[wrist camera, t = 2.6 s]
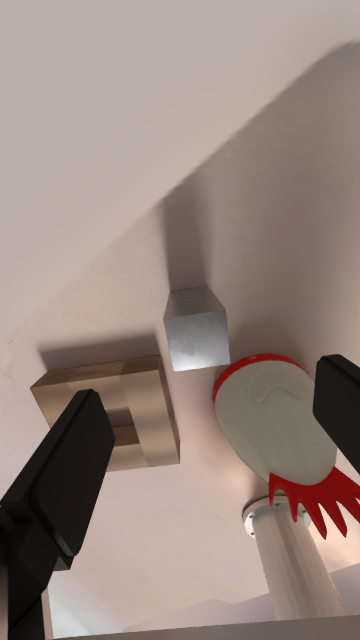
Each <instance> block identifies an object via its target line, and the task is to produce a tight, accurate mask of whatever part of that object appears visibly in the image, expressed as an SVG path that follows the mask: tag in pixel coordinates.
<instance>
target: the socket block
mask: <svg viewBox="0 0 360 640" xmlns="http://www.w3.org/2000/svg"><path fill="white" fill-rule="evenodd" d="M85 389H93V390H94V391H95V392H98V393H99V396H100V398H101V401H102V403H103V406H104V409H105V410H108V409H116V408H123V407H129V409H130V412H131V415H132V419H133V422H134V424H131V425H124V426H116V427H112V430H113V432H114V435H115V445H114V448H113V451H112V454H111V457H110V460H109V464H108V467H107V470H106V472H111V471H120V470H129V469H138V468H147V467H156V466H164V465H173V464H180V439H179V435H178V430H177V426H176V421H175V417H174V412H173V408H172V403H171V399H170V394H169V390H168V385H167V381H166V376H165V372H164V367H163V363H162V358H161V355H158V356H151V357H144V358H137V359H130V360H123V361H116V362H109V363H102V364H95V365H89V366H82V367H75V368H68V369H61V370H54V371H48V372H47V373H46V374H44V375H43V376H42V377H41V378H40V379H39V380H38V381H37V382H36V383H35V384H33V385H32V386H31V387H30V390H31V392H32V394H33V396H34V398H35V400H36V402H37V403H38V405H39V407H40V409H41V411H42V413H43V415H44V417H45V419H46V421H47V423H48V425H49V427H50V429H51V428H52V426H53V425H54V424H55V422H56V421H57V419H58V418H59V416H60V415H61V414H62V412H63V411H64V409H65V408H66V406H67V405H68V404H69V402H70V401H71V399H72V398H73V396H74V395H75V394H76V392H77V391H79V390H85Z"/></svg>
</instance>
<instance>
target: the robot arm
mask: <svg viewBox="0 0 360 640" xmlns="http://www.w3.org/2000/svg"><path fill="white" fill-rule="evenodd" d="M312 411H313V415H314V417H315V419H316V420H317V422H318V423H319V424H320V425H321V427H322V428H323V429H324V431H325V432H326V433H327V434H328V436H329V437H330V438H331V439H332V441H333V442H334V443H335V444H336V446H337V447H338V448H339V449H340V451H341V452H342V453H343V455H344V456H345V457H346V458H347V460H348V461H349V462H350V463H351V465H352V466H353V467H354V468H355V470H356V471H357V472H358V473H359V475H360V367H358V366H357V365H355V364H354V363H352V362H351V361H349V360H348V359H346V358H345V357H343V356H342V355H339V354H334V355H327V356H322V357H321V358H320V360H319V361H318V362H317V366H316V377H315V388H314V398H313V409H312ZM114 445H115V435H114V432H113V430H112V427H111V424H110V422H109V419H108V417H107V414H106V411H105V409H104V406H103V403H102V401H101V398H100V396H99V393H98V392H95V391H94V390H93V389H85V390H79V391H77V392H76V394H75V395H74V396H73V398H72V399H71V401H70V402H69V404H68V405H67V406H66V408H65V409H64V411H63V412H62V414H61V415H60V416H59V418H58V419H57V421H56V422H55V424H54V425H53V426H52V428H51V429H50V431H49V432H48V434H47V435H46V436H45V438H44V439H43V441H42V442H41V444H40V445H39V446H38V448H37V449H36V451H35V452H34V454H33V455H32V456H31V458H30V459H29V461H28V462H27V464H26V465H25V466H24V468H23V469H22V471H21V472H20V474H19V475H18V476H17V478H16V479H15V481H14V482H13V484H12V485H11V486H10V488H9V489H8V491H7V492H6V494H5V495H4V496H3V498H2V499H1V501H0V506H1V507H0V640H360V615H351V616H350V615H349V616H348V614H347V612H346V610H345V608H344V605H343V603H342V601H341V599H340V597H339V595H338V592H337V590H336V588H335V586H334V584H333V582H332V579H331V577H330V575H329V573H328V571H327V568H326V566H325V564H324V562H323V560H322V558H321V555H320V553H319V551H318V549H317V547H316V545H315V542H314V540H313V538H312V536H311V534H310V532H309V529H308V527H309V525H310V523H311V518H310V516H309V515H308V513H307V511H306V510H305V508H304V507H303V505H302V504H301V503H299V504H298V513H297V522H296V523H295V522H294V521H293V519H292V515H291V511H290V506H289V501H288V498H287V496H274V499H273V504H272V507H270V503H269V497H266V498H263V499H260V500H258V501H256V502H254V503H253V504H251V505H250V506H249V507H248V508H247V509H246V511H245V512H244V514H243V525H244V528H245V531H246V532H247V533H248V534H249V535H250V536H252V537H253V538H255V539H256V542H257V546H258V550H259V554H260V557H261V561H262V565H263V569H264V573H265V577H266V580H267V584H268V588H269V592H270V596H271V599H272V603H273V607H274V611H275V615H276V619H277V621H269V622H255V623H241V624H228V625H216V626H202V627H189V628H177V629H164V630H152V631H139V632H128V633H115V634H103V635H91V636H78V637H68V638H59V639H54V638H53V630H52V621H51V613H50V604H49V595H48V587H47V586H48V583H49V580H50V578H51V575H52V573H53V571H62V570H70V568H71V565H72V562H73V559H74V556H76V555H77V554H78V553H79V551H80V549H81V547H82V544H83V541H84V538H85V535H86V532H87V529H88V525H89V522H90V519H91V516H92V513H93V510H94V507H95V504H96V501H97V498H98V494H99V491H100V488H101V485H102V482H103V479H104V476H105V473H106V470H107V467H108V464H109V460H110V457H111V454H112V451H113V448H114Z"/></svg>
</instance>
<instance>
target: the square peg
mask: <svg viewBox="0 0 360 640" xmlns="http://www.w3.org/2000/svg"><path fill="white" fill-rule="evenodd" d="M163 320H164V325H165V330H166V335H167V340H168V344H169V349H170V354H171V359H172V364H173V369H174V372H175V371H183V370H190V369H197V368H204V367H211V366H218V365H226V364H230V353H229V341H228V330H227V319H226V309H225V308H224V307H223V305H222V304H221V303H220V302H219V300H218V299H217V298H216V296H215V295H214V294H213V292H212V291H211V290H210V289H209V287H208V286H203V287H196V288H190V289H184V290H178V291H172V292H170V294H169V298H168V302H167V306H166V310H165V314H164V318H163Z"/></svg>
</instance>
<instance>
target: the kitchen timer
mask: <svg viewBox="0 0 360 640" xmlns="http://www.w3.org/2000/svg"><path fill="white" fill-rule="evenodd" d="M314 388H315V383H314V382H313V381H312V379H311V378H310V377H309V376H308V374H307V373H306V372H305V371H304V370H303V369H302V368H301V367H300V366H299V365H298V364H297V363H295V362H293V361H292V360H290V359H288V358H287V357H283V356H279V355H275V354H258V355H254V356H251V357H247V358H244V359H242V360H240V361H238V362H236V363H234V364H233V365H231V366H230V367H229V368H228V369H227V370H226V371H225V372H224V373H223V374H221V376H220V378H219V379H218V381H217V383H216V384H215V387H214V392H213V396H212V397H213V405H214V410H215V415H216V418H217V421H218V423H219V425H220V427H221V429H222V431H223V432H224V434H225V436H226V438H227V439H228V441H229V443H230V444H231V446H232V447H233V449H234V451H235V452H236V454H237V455H238V456H239V457H240V459H241V460H242V461H243V462H244V463H245V464H246V465H247V466H248V467H249V468H250V469H251V470H253V471H254V472H255V473H256V474H257V475H258V476H260V477H261V478H262V479H263V480H265V481H266V482H268V483H269V503H270V507H272V504H273V499H274V494H275V491H276V490H278V489H282V490H283V491H284V492H285V493H286V495H287V498H288V501H289V506H290V511H291V515H292V519H293V521H294V522H295V523H296V522H297V513H298V504H299V503H301V504H302V505H303V507H304V508H305V510H306V511H307V513H308V515H309V516H310V518H311V520H312V521H313V523H314V524H315V526H316V528H317V529H318V531H319V533H320V534H321V536H322V537H323V538H324V539H325V540H326V535H327V529H326V526H325V522H324V519H323V516H322V513H321V511H320V508H319V505H318V503H320V504H321V505H322V507H323V508H324V509H325V511H326V512H327V513H328V515H329V516H330V518H331V519H332V520H333V522H334V523H335V525H336V526H337V528H338V529H339V531H340V532H341V533H342V535H343V536H344V537H345V538H346V534H347V527H346V524H345V521H344V519H343V516H342V514H341V511H340V509H339V507H338V505H337V503H336V501H338V502H339V503H341V504H342V505H343V506H344V507H345V508H346V509H347V510H348V511H349V513H350V514H351V515H352V516H353V517H354V518H355V519H356V520H357V521H358V522H359V523H360V504H359V503H358V501H357V500H356V498H357V499H359V500H360V486H359V485H358V484H356V483H355V482H354V481H353V480H351V479H350V478H349V477H347V476H346V475H345V474H344V473H342V472H341V471H340V470H338V469H337V468H336V467H335V462H336V455H337V446H336V444H335V443H334V442H333V441H332V439H331V438H330V437H329V436H328V434H327V433H326V432H325V431H324V429H323V428H322V427H321V425H320V424H319V423H318V422H317V420H316V419H315V417H314V415H313V411H312V409H313V398H314Z"/></svg>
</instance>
